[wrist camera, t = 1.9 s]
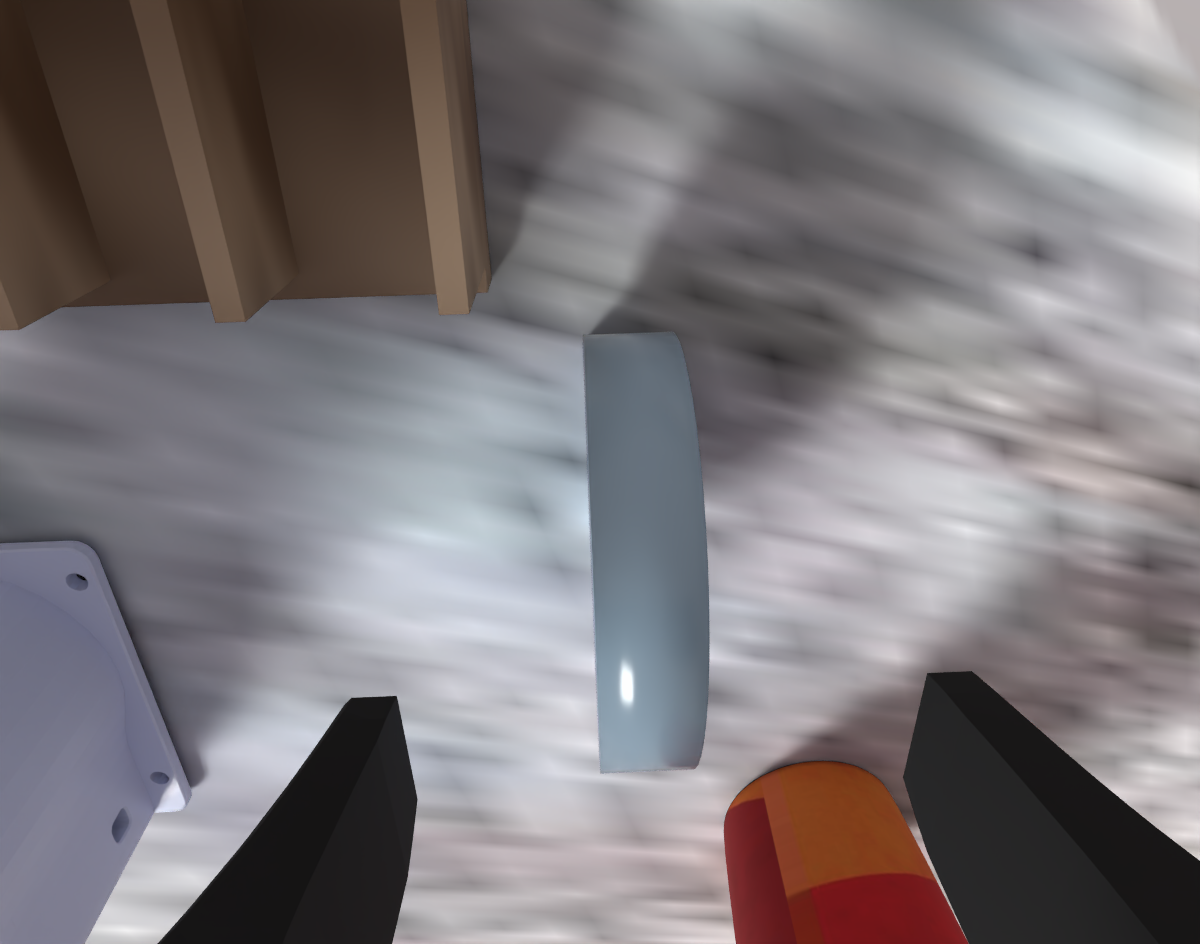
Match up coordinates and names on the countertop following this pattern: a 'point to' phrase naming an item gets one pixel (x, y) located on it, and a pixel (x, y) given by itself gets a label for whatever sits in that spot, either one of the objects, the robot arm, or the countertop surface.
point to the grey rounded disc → (646, 553)
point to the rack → (237, 154)
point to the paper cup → (829, 863)
